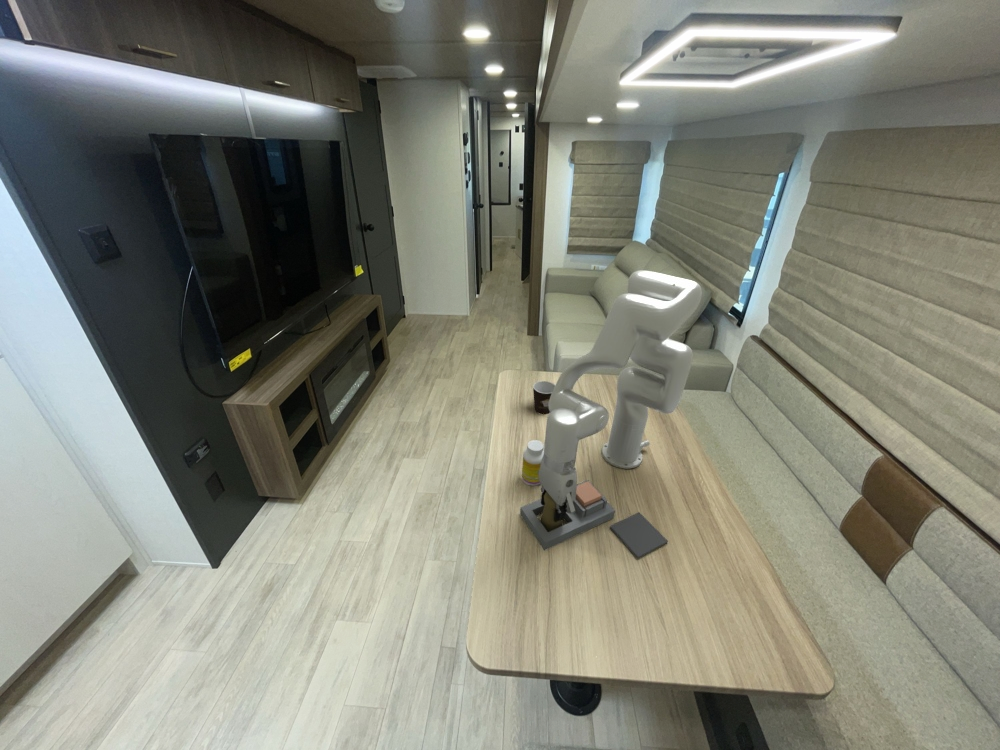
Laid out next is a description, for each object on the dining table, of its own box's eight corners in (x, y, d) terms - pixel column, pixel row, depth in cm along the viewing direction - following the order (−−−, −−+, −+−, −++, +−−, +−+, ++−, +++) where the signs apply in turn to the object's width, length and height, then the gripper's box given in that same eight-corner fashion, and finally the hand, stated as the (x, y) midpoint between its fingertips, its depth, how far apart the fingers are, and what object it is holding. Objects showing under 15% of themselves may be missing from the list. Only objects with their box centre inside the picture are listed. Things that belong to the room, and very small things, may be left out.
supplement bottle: (542, 488, 114) (545, 454, 107) (519, 484, 115) (522, 451, 109) (544, 472, 120) (548, 439, 113) (523, 468, 121) (525, 436, 114)
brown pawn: (547, 536, 100) (551, 506, 94) (535, 519, 105) (538, 489, 99) (567, 527, 102) (572, 498, 97) (554, 510, 107) (558, 481, 101)
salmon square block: (586, 489, 109) (588, 481, 108) (599, 503, 105) (601, 495, 103) (570, 495, 107) (571, 488, 105) (583, 510, 103) (584, 502, 101)
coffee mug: (529, 413, 145) (530, 391, 140) (534, 401, 152) (535, 379, 147) (560, 419, 143) (563, 396, 137) (564, 406, 150) (566, 384, 145)
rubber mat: (638, 514, 107) (639, 512, 106) (667, 543, 99) (668, 540, 99) (609, 527, 103) (610, 525, 102) (637, 559, 95) (638, 557, 95)
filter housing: (585, 487, 115) (588, 473, 112) (613, 518, 105) (617, 503, 103) (520, 514, 106) (521, 500, 103) (544, 550, 97) (546, 536, 94)
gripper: (595, 476, 87) (585, 530, 96) (552, 432, 100) (546, 483, 109) (567, 487, 84) (559, 542, 93) (527, 440, 97) (523, 493, 106)
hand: (552, 510), depth 101 cm, fingers closed on brown pawn, 5 cm apart
